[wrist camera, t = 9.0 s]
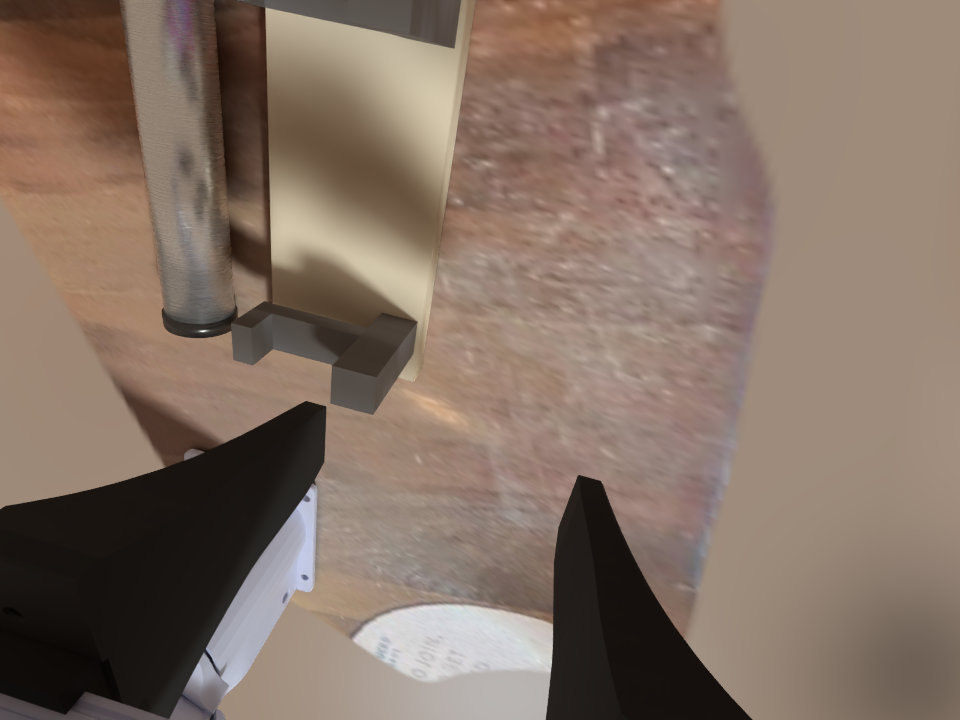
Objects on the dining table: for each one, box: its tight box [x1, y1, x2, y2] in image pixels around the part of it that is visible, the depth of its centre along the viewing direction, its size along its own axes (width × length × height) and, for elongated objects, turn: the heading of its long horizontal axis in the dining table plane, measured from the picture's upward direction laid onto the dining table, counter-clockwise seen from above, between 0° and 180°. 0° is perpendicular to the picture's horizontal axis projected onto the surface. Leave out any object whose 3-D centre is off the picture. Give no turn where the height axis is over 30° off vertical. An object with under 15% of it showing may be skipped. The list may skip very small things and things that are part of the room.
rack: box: [231, 0, 476, 415], centre depth 18 cm, size 16×7×6 cm, turn 170°
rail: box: [119, 0, 238, 338], centre depth 19 cm, size 15×3×3 cm, turn 170°
